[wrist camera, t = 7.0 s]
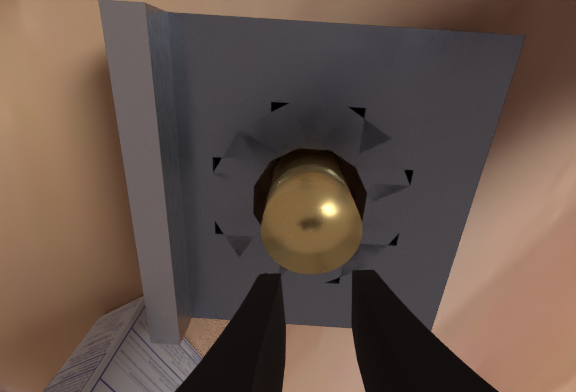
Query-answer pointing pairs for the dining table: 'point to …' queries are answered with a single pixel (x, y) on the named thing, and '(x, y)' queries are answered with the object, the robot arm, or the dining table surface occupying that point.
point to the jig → (290, 136)
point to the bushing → (310, 214)
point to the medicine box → (124, 357)
